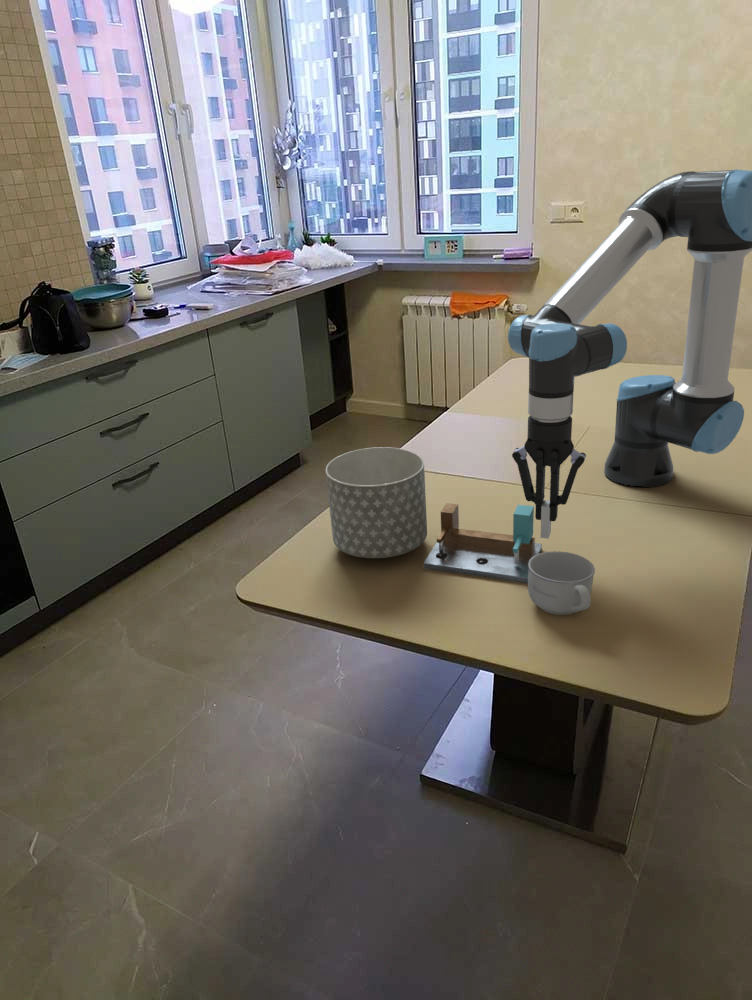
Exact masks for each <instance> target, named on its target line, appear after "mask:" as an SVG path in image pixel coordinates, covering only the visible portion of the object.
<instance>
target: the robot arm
mask: <svg viewBox="0 0 752 1000" xmlns="http://www.w3.org/2000/svg"><path fill="white" fill-rule="evenodd" d="M676 237H680V238H687V246H686V251H687V252H688V253H689V254H690V255H691V257H692V258H693V259H694V260H693V270H692V280H691V287H690V288H691V289H690V290H691V291H690V298H689V308H688V317H687V328H686V337H685V346H684V356H683V365H682V376H681V378H680V380H678V381H677V382H676V380H675V378H674V377H672V376H670V375H664V374H663V375H662V374H653V375H652V374H651V375H649V374H648V375H640V376H635V377H634V376H633V377H630V378H628V379H626V380H624V381H622V382H621V383H620V384H619V387H618V394H617V398H616V411H615V412H616V415H615V428H614V429H615V430H614V442H613V444H612V446H611V449H610V451H609V453H608V455H607V458H606V460H605V462H604V469H603V470H604V471H603V472H604V473H605V474H604V476H605V475H606V476H607V477H608V478H609V479H608V478H607V477H606V476H605V477H606V478H607V479H608V480H610V479H611V480H610V481H612V482H614V481H615V482H614V483H616V482H617V483H616V484H619V483H621V484H620V485H622V484H624V486H627V485H630V486H629V487H633V486H642V487H641V488H652V487H651V486H654V487H659V486H663V485H665V483H666V484H668V483H669V482H670V481H671V480H672V479H673V476H674V475H673V474H674V465H673V464H674V463H673V461H672V457H671V452H670V449H669V444H672V445H674V446H675V445H676V446H679V447H682V448H684V449H687V450H691V451H693V452H695V453H699V452H700V453H703V454H707V455H708V454H709V455H715V454H719V453H720V452H722V451H724V450H725V449H727V448H728V446H730V445H731V443H732V442H733V440H734V439H735V438H736V436H737V435H738V433H739V432H740V429H741V427H742V425H743V421H744V417H745V409H744V406H743V404H741V403H740V402H738V400H734V399H735V398H734V395H735V386H734V385H733V384H732V383H731V382H730V381H729V371H730V367H731V358H732V350H733V343H734V336H735V335H734V334H735V328H736V321H737V313H738V306H739V297H740V293H741V292H740V291H741V285H742V284H741V283H742V276H743V271H744V270H743V269H744V267H743V266H744V261H745V257H746V256H747V255H748V254H749V253H751V252H752V170H747V169H746V170H745V169H726V170H710V171H709V170H708V171H682V172H679V173H676V174H673V175H671V176H669V177H667V178H664V179H662V180H661V181H659V182H658V183H655V184H654V185H652V186H651V187H650V188H649V189H647V190H646V191H645V192H643V193H642V194H641V195H639V196H638V197H637V198H636V199H635V200H633V202H632V203H631V204H630V205H629V206H628V207H627V208H625V210H624V211H623V212H621V215H620V216H619V218H618V225H617V226H616V227H615V228H614V229H613V230H612V231H611V233H609V235H608V236H607V237H605V238H604V240H603V241H602V242H601V243H600V244H599V245H598V246H597V247H596V248H595V250H593V252H592V253H591V254H590V255H589V256H588V257H587V258H586V259H585V260H584V261H583V262H582V263H581V265H580V266H579V267H578V268H577V269H576V270H575V271H574V272H573V273H572V274H571V275H570V277H568V278H567V279H566V280H565V282H564V283H563V284H562V285H561V286H560V287H559V288H558V289H557V290H556V291H555V292H554V293H553V294H552V296H551V297H550V298H549V299H548V300H547V301H546V302H545V303H544V304H543V305H542V306H541V307H540V308H539V310H538V311H536V313H535V314H534V315H533V314H523V315H520V316H518V317H516V318H515V319H513V321H512V322H511V324H510V326H509V329H508V333H507V340H508V341H507V342H508V344H509V347H510V349H511V350H512V351H513V352H514V353H516V354H517V355H521V356H524V357H526V358H528V397H527V398H528V402H527V403H528V404H527V406H528V407H527V415H528V418H527V438H526V441H525V442H524V445H523V446H521V447H516V448H514V451H513V452H512V454H511V457H512V459H513V460H514V462H515V463H516V465H517V468H518V472H519V473H518V474H519V477H520V481H521V484H522V485H521V486H522V489H523V493H524V498H525V500H526V501H527V502H532V503H534V505H535V511H534V513H535V515H534V516H535V519H536V520H539V521H540V538H541V539H547V540H549V538H550V535H551V532H552V522H556V520H557V518H558V513H559V511H558V510H559V505H563V506H564V505H566V504H567V502H568V500H569V497H570V493H571V490H572V488H573V485H574V482H575V479H576V475H577V473H578V470H579V469H580V467H581V466H582V465H583V464H584V462H585V460H586V457H587V454H586V453H585V452H579V451H578V450H576V449H575V446H574V445H575V444H574V443H573V440H572V432H573V431H572V430H573V428H572V427H573V418H572V414H573V411H574V410H573V409H574V391H575V390H574V388H575V378H576V377H580V376H583V375H586V374H589V373H594V372H596V371H600V370H601V371H602V370H606V369H608V368H610V367H612V366H614V365H617V364H619V363H620V362H621V361H623V359H624V358H625V356H626V354H627V349H628V340H627V336H626V334H625V332H624V331H623V330H622V328H621V327H620V326H618V325H617V324H615V323H609V322H608V323H599V324H596V325H595V326H594V325H593V326H591V325H590V326H589V325H586V324H585V325H584V324H581V323H582V322H583V321H584V320H585V319H586V318H587V316H589V315H590V313H591V312H592V311H593V310H594V309H595V308H596V307H597V306H598V305H599V304H600V302H601V301H603V299H605V297H606V296H607V295H608V294H609V293H610V292H611V291H612V290H613V289H614V288H615V287H616V286H617V284H618V283H619V282H620V281H621V280H622V279H623V277H624V276H626V275H627V273H629V272H630V270H631V269H632V268H633V267H634V266H635V264H637V262H638V261H639V260H640V259H641V258H642V257H643V256H644V255H645V254H646V253H647V252H649V251H653V250H656V249H657V248H658V247H659V246H660V245H661V244H662V243H663V242H664V241H666V240H668V239H671V238H672V239H673V238H676ZM528 455H529V457H530V458H531V460H532V461H533V462H534V464H535V473H536V474H535V489H534V485H533V480H532V477H531V476H532V475H531V472H530V468H529V467H530V466H529V463H528V460H527V456H528ZM569 457H570V463H571V467H570V469H569V473H568V476H567V478H566V482H565V485H564V487H563V489H562V493H561V494H559V493H560V491H559V490H560V474H561V473H560V472H561V470H560V469H561V465H562V464H563V463H564V462H565V461H566V460H567V459H568V458H569ZM546 467H550V484H549V485H550V486H549V500H545V497H546V496H545V490H546V488H545V485H546Z"/></svg>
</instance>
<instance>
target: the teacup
mask: <svg viewBox="0 0 752 1000" xmlns="http://www.w3.org/2000/svg"><path fill="white" fill-rule="evenodd" d="M528 567H529V572H528V583H527V590H528V596H529V598H530V599H531V601H532V602H533V603H534V604H535V605H536V606H538V607H539V608H540V609H541V610H543V611H544V612H546V613H548V614H551V615H556V616H565V615H566V616H567V615H571V614H573V613H578V612H581V611H585V610H587V609H589V607H590V605H591V603H592V601H591V599H592V597H591V595H592V594H591V593H592V589H593V582H594V575H595V572H596V568H595V565H594V564H593V562H592V561H590V560H589V559H587V558H585V557H584V556H582V555H579V554H576V553H573V552H568V551H567V552H566V551H559V550H558V551H555V550H554V551H545V552H541V553H540V554H537V555H535V556H533V557H532V558H531V559H530V560H529V563H528Z"/></svg>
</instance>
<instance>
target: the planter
mask: <svg viewBox="0 0 752 1000" xmlns="http://www.w3.org/2000/svg"><path fill="white" fill-rule="evenodd" d="M325 479H326V487H327V498H328V505H329V515H330V516H329V517H330V523H331V533H332V534H331V535H332V540H333V545H334V546H336V548H338V550H339V551H341V552H343V553H344V554H347V555H349V556H353V557H357V558H363V559H364V558H365V559H386V558H392V557H398V556H401V555H404V554H407V553H410V552H412V551H414V550H415V549H417V548H418V547H420V546H421V545H422V544H423V543H424V542H425V541H426V539H427V535H428V521H427V519H428V518H427V501H426V500H427V499H426V496H427V495H426V473H425V462H424V459H423V458H422V457H421V455H419V454H417V453H416V452H413V451H411V450H408V449H404V448H399V447H389V446H388V447H385V446H382V447H381V446H378V447H377V446H375V447H367V448H366V447H365V448H359V449H356V450H351V451H347V452H345V453H343V454H341V455H338V456H335V458H333V459H332V460H330V461H329V462H328V463H327V465H326V466H325Z"/></svg>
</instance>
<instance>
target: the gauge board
mask: <svg viewBox="0 0 752 1000" xmlns="http://www.w3.org/2000/svg"><path fill="white" fill-rule="evenodd" d="M459 518H460V517H459V504H458V503H450V502H447V503H445V505H444V506H443V508H442V509H441V510H440V529H441V530H440V533H439V534H438V536H437V538H436V543H435V544H434V546H433V548H432V549H431V551H430V552H429V554H428V555H427V557H426V559H425V560H424V561H423V569H426V570H430V571H431V570H432V571H439V572H446V573H452V574H461V575H466V576H472V577H473V576H475V577H481V578H486V579H494V580H495V579H496V580H501V581H508V582H516V583H523V584H528V572H529V567H528V563H529V560H530V559H531V558H532V557H533V556H535V555H537V554H540V553H542V550H543V543H538V542H536V541H535V540H536V538H535V537H532V538H531V540H530V543H529V544H524V543H521V545H520V548H519V564H514V553H513V547H514V545H515V543H516V542H513V534H506V533H505V534H504V533H498V532H497V533H496V532H491V531H490V532H489V531H482V530H481V531H480V530H473V529H465V528H459V527H460V525H459V524H460V520H459Z"/></svg>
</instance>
